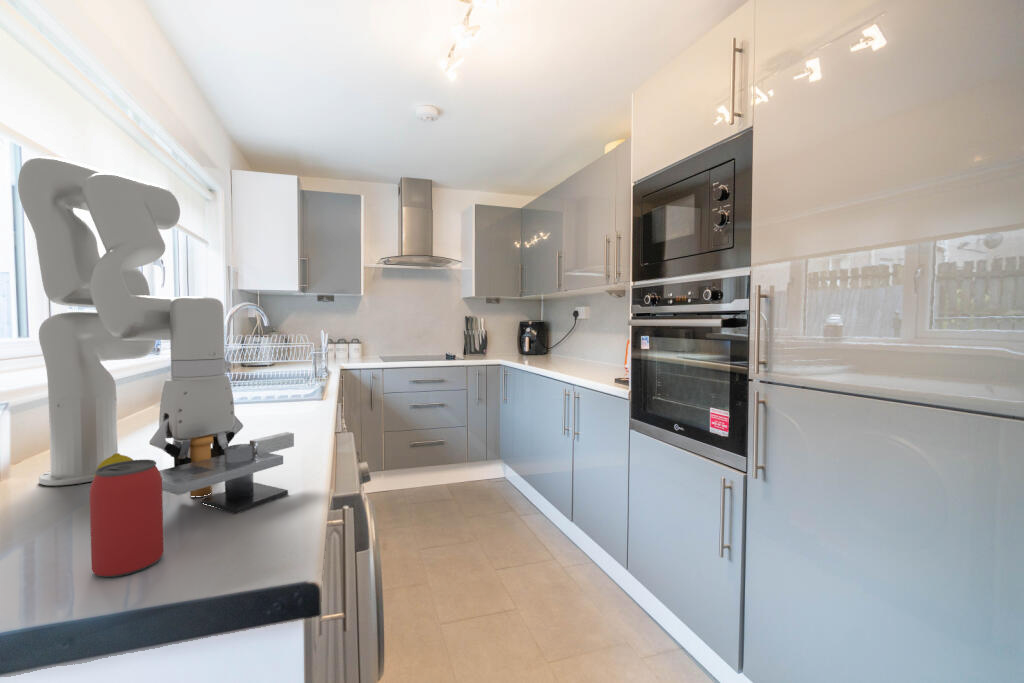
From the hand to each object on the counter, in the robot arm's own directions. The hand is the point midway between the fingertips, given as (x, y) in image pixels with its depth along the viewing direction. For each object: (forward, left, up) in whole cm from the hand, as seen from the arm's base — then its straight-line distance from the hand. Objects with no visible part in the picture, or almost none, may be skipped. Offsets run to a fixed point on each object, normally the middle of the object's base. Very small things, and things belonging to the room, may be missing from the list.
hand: (200, 475), depth 78 cm
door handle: (+9, 0, -3) cm, 10 cm away
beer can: (+17, -18, -4) cm, 25 cm away
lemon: (-9, -8, -4) cm, 13 cm away
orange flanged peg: (0, 0, -3) cm, 3 cm away
